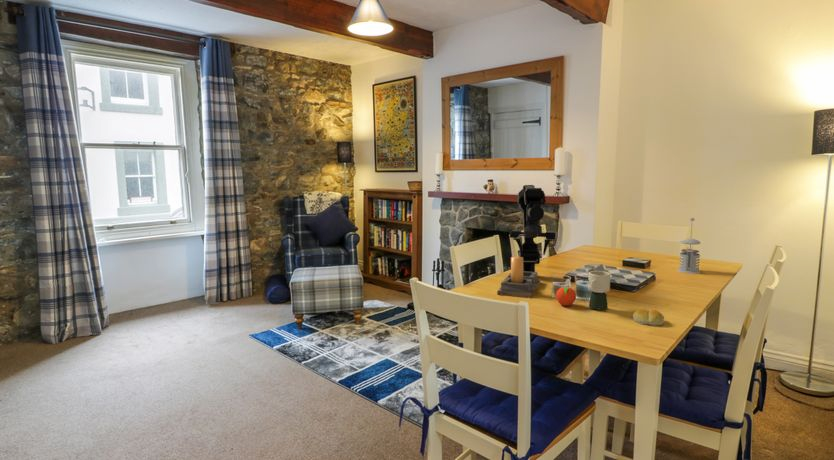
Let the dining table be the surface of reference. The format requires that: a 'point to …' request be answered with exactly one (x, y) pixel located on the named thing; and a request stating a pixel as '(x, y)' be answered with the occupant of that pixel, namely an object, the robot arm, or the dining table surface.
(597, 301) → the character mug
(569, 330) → the dining table surface
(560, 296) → the tomato
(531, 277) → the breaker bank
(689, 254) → the french press
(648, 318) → the bread roll
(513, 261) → the tan cylinder
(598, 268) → the electrical switch
